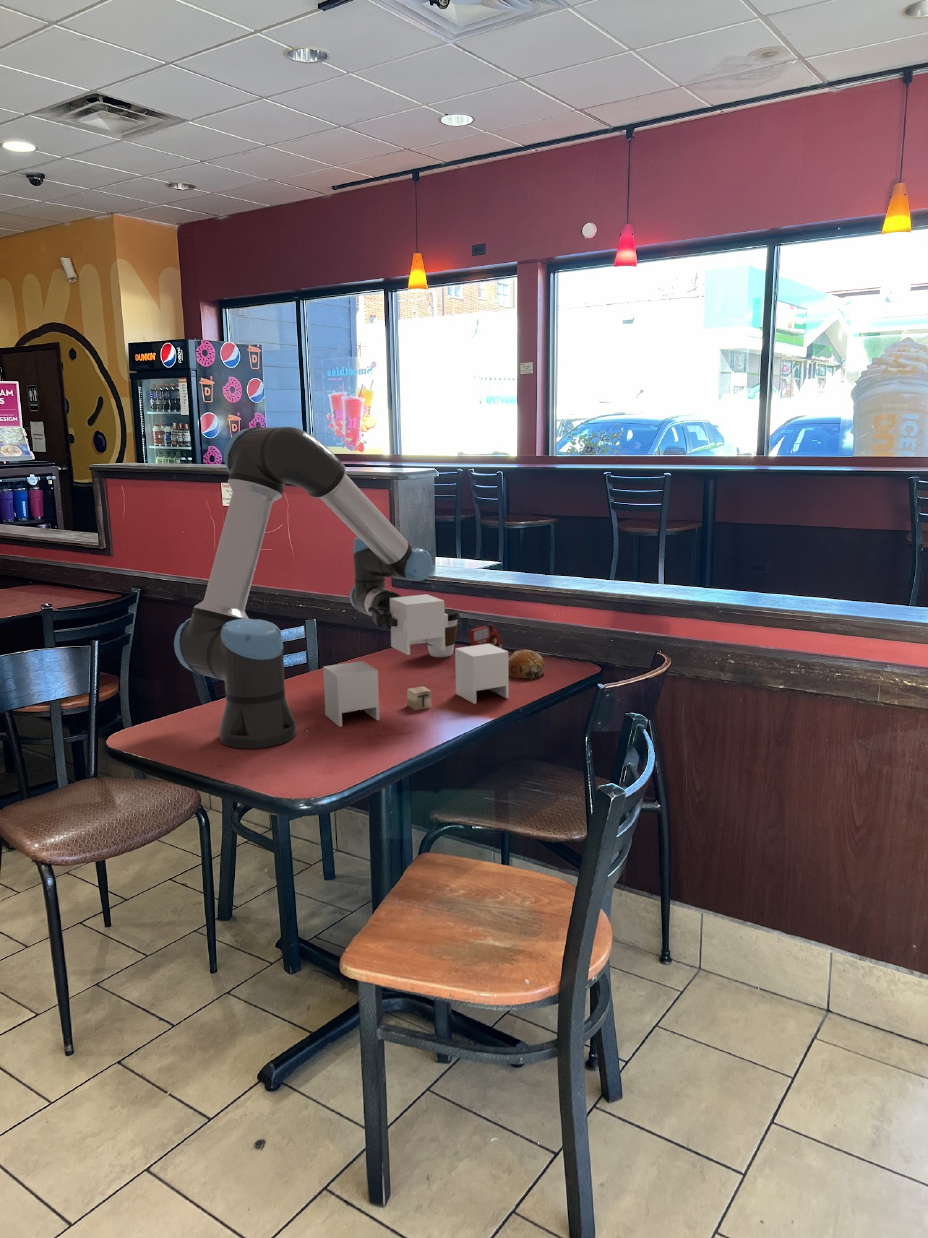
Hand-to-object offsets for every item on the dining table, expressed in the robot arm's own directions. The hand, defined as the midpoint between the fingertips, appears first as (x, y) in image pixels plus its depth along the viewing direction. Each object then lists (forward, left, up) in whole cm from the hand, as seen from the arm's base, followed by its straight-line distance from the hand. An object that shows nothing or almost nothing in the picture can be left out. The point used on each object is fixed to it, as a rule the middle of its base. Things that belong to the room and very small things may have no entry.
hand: (426, 623), depth 191 cm
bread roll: (+35, +16, -20) cm, 43 cm away
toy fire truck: (+31, +30, -20) cm, 47 cm away
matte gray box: (+16, +5, -20) cm, 26 cm away
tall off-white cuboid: (0, +5, -7) cm, 8 cm away
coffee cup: (+25, +45, -20) cm, 55 cm away
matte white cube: (-16, +5, -20) cm, 26 cm away
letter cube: (0, +5, -20) cm, 21 cm away
